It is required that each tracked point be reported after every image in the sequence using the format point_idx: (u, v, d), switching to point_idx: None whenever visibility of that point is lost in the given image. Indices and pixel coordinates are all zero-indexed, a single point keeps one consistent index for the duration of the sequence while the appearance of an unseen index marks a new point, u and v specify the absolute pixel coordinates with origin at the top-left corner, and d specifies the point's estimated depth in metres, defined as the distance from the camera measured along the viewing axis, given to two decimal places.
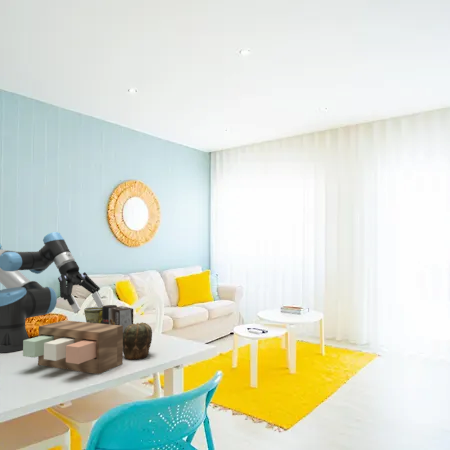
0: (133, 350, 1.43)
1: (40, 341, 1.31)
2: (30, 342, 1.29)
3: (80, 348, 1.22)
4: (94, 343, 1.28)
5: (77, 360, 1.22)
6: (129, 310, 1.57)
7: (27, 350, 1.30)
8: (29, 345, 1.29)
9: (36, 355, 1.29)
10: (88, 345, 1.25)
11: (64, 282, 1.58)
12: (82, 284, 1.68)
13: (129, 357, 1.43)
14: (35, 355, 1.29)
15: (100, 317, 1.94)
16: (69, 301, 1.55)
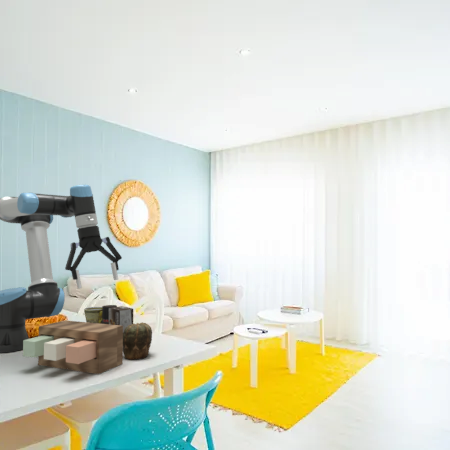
0: (133, 350, 1.43)
1: (40, 341, 1.31)
2: (30, 342, 1.29)
3: (80, 348, 1.22)
4: (94, 343, 1.28)
5: (77, 360, 1.22)
6: (129, 310, 1.57)
7: (27, 350, 1.30)
8: (29, 345, 1.29)
9: (36, 355, 1.29)
10: (88, 345, 1.25)
11: (72, 253, 1.42)
12: (100, 251, 1.50)
13: (129, 357, 1.43)
14: (35, 355, 1.29)
15: (100, 317, 1.94)
16: (72, 276, 1.42)
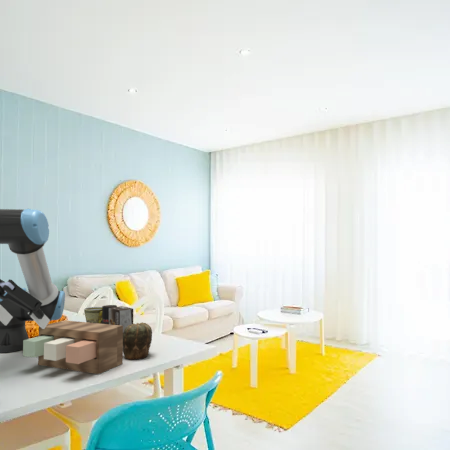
0: (133, 350, 1.43)
1: (40, 341, 1.31)
2: (30, 342, 1.29)
3: (80, 348, 1.22)
4: (94, 343, 1.28)
5: (77, 360, 1.22)
6: (129, 310, 1.57)
7: (27, 350, 1.30)
8: (29, 345, 1.29)
9: (36, 355, 1.29)
10: (88, 345, 1.25)
11: None
12: None
13: (129, 357, 1.43)
14: (35, 355, 1.29)
15: (100, 317, 1.94)
16: None
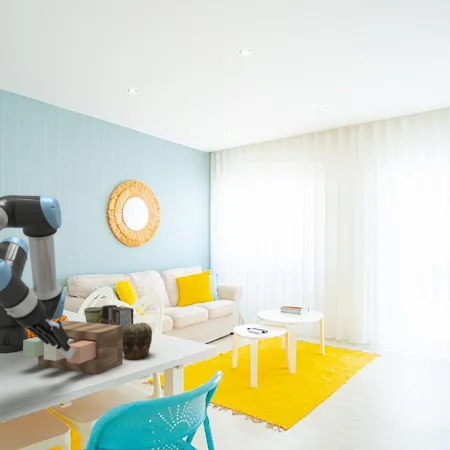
0: (133, 350, 1.43)
1: (40, 341, 1.31)
2: (30, 342, 1.29)
3: (81, 348, 1.23)
4: (95, 343, 1.28)
5: (78, 360, 1.22)
6: (129, 310, 1.57)
7: (27, 350, 1.30)
8: (29, 345, 1.29)
9: (36, 355, 1.29)
10: (89, 345, 1.26)
11: (33, 332, 1.15)
12: None
13: (129, 357, 1.43)
14: (35, 355, 1.29)
15: (100, 317, 1.94)
16: None
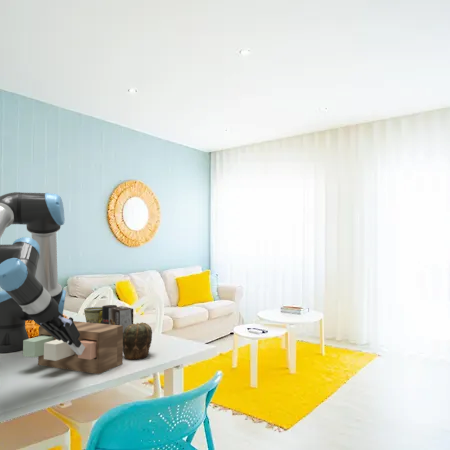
0: (133, 350, 1.43)
1: (40, 341, 1.31)
2: (30, 342, 1.29)
3: (92, 344, 1.27)
4: None
5: (89, 356, 1.26)
6: (129, 310, 1.57)
7: (27, 350, 1.30)
8: (29, 345, 1.29)
9: (36, 355, 1.29)
10: None
11: (45, 329, 1.19)
12: None
13: (129, 357, 1.43)
14: (35, 355, 1.29)
15: (100, 317, 1.94)
16: None
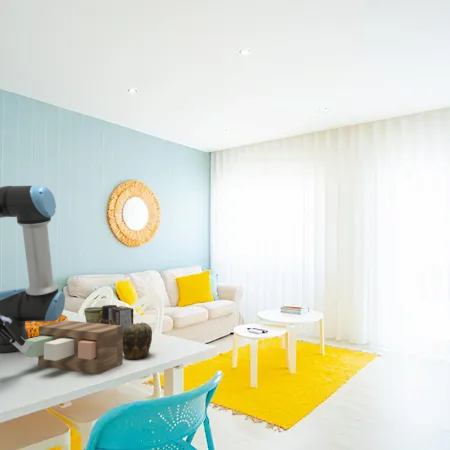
0: (133, 350, 1.43)
1: (41, 341, 1.31)
2: (31, 342, 1.29)
3: (92, 344, 1.27)
4: None
5: (89, 356, 1.26)
6: (129, 310, 1.57)
7: (28, 350, 1.30)
8: (30, 344, 1.30)
9: (37, 355, 1.29)
10: None
11: None
12: None
13: (129, 357, 1.43)
14: (36, 355, 1.29)
15: (100, 317, 1.94)
16: None
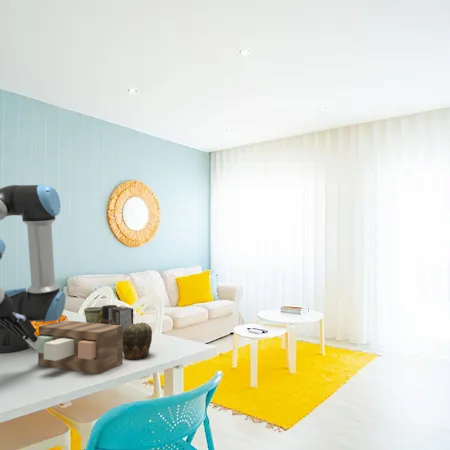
0: (133, 350, 1.43)
1: (52, 338, 1.35)
2: (43, 339, 1.34)
3: (92, 344, 1.27)
4: None
5: (89, 356, 1.26)
6: (129, 310, 1.57)
7: (40, 347, 1.34)
8: (42, 341, 1.34)
9: None
10: None
11: (2, 324, 1.26)
12: None
13: (129, 357, 1.43)
14: None
15: (100, 317, 1.94)
16: None
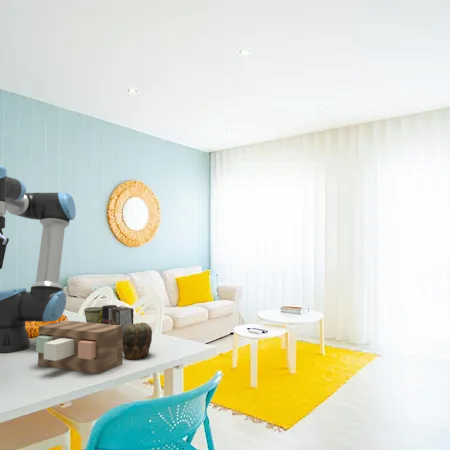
0: (133, 350, 1.43)
1: (52, 338, 1.35)
2: (43, 339, 1.34)
3: (92, 344, 1.27)
4: None
5: (89, 356, 1.26)
6: (129, 310, 1.57)
7: (40, 347, 1.34)
8: (42, 341, 1.34)
9: None
10: None
11: None
12: None
13: (129, 357, 1.43)
14: None
15: (100, 317, 1.94)
16: None
